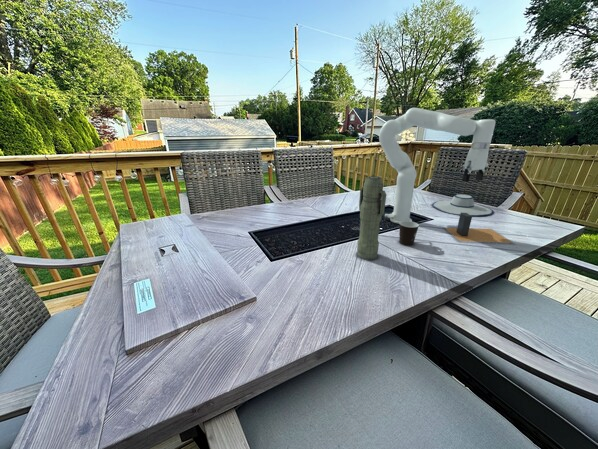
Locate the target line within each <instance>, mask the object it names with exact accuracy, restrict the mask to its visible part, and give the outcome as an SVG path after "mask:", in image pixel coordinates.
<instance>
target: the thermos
mask: <svg viewBox="0 0 598 449" xmlns="http://www.w3.org/2000/svg"><path fill="white" fill-rule="evenodd" d="M386 201H387V192H386V190H384V182H383V178H382V177H380V176H376V175H372V176H367V177H366V178H365V180H364V183H363V186H361V188H360V189H359V202H358V207H359V208H358V209H359V219H360V223H359V224H360V225H359V236H358V239H357V246H356V247H357V248H356V251H357V252H356V254H357V257H358V258H360V259H362V260H366V261H370V260H371V261H373V260H375V259H377V257H378V253H379V246H380V243H379V233H380V223H381V221H382V218H383V217H382V216H384V215H385V208H386Z"/></svg>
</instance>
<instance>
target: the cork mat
mask: <svg viewBox="0 0 598 449" xmlns="http://www.w3.org/2000/svg"><path fill="white" fill-rule="evenodd" d="M444 229H446V231H447V232H448V233H449V234H451V235H452V236H453V237H454V238H455V239H457V241H459V242H479V243H480V242H481V243H506V244H507V243H508V244H513V242H512V241H511V240H509V239H507V238H506V237H504V236H503V235H501V234H500V233H498V232H496V231H495V230H493V229H491V228H471V227H470V228H469V232H468V236H461V235H459V234H458V233H457V232H456V231H457V227H444Z"/></svg>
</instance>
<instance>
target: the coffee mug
mask: <svg viewBox="0 0 598 449" xmlns="http://www.w3.org/2000/svg"><path fill="white" fill-rule="evenodd" d="M419 227H420V224H419V223H417V222H415V221H412V222H411V221H402V222H400V224H399V231H398V232H399V236H398V238H399V244H401V245H402V246H406V247H407V246H408V247H410V246H413V245H414V243H415V239H416V237H417V233H418V230H419Z"/></svg>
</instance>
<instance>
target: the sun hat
mask: <svg viewBox="0 0 598 449" xmlns="http://www.w3.org/2000/svg"><path fill="white" fill-rule="evenodd" d="M431 206H432V207H433V208H435V209H436V210H438V211H440V212H443V213H445V214H450V215H454V216H460V213H468V214H469V215H471V216H472V217H483V216H490V215H493V214H494V210H493V209H491V208H489V207H486V206H483V205H481V204H478V203H477V202H476V203H475V199H474V197H473V196H472V195H469V194H461V193H460V194H458V193H457V194H455V195H453V197H452V199H443V200H437V201H434V202H433V203H432V204H431Z"/></svg>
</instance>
